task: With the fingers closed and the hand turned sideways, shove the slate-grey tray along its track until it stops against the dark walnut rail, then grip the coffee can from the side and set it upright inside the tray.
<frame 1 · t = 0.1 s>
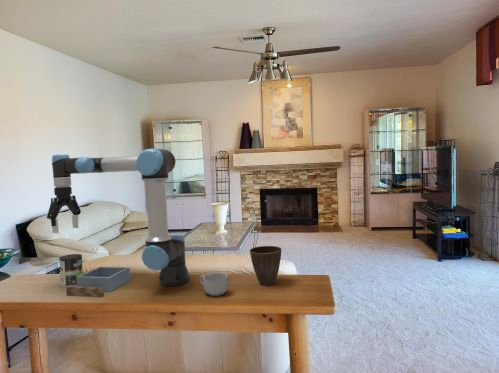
hand: (66, 230, 179), 28 cm above the table, tool pointing down, fingers open, 13 cm apart
teacup: (213, 293, 163), on the table
tray: (104, 278, 180), point 4 cm above the table, slide at 0.0 cm
coffee can: (72, 284, 185), on the table
plant pot: (266, 283, 174), on the table
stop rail: (85, 296, 166), on the table
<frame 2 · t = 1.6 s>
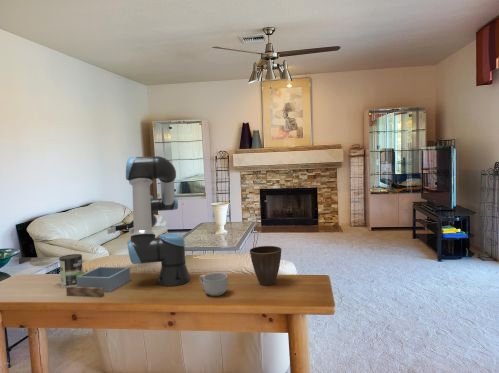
hand: (118, 231, 193), 24 cm above the table, tool horizontal, fingers open, 12 cm apart
nothing on the table moved.
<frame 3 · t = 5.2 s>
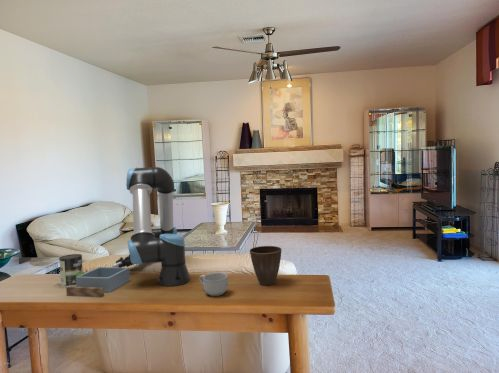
hand: (113, 268, 188), 6 cm above the table, tool horizontal, fingers closed
tray: (103, 278, 180), point 4 cm above the table, slide at 0.4 cm, touching gripper
everything else where it was.
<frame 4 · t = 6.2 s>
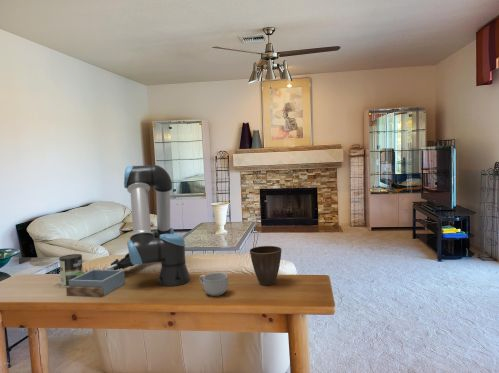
hand: (108, 270, 184), 6 cm above the table, tool horizontal, fingers closed
tray: (98, 281, 175), point 4 cm above the table, slide at 5.0 cm, touching gripper, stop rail
everything else where it was.
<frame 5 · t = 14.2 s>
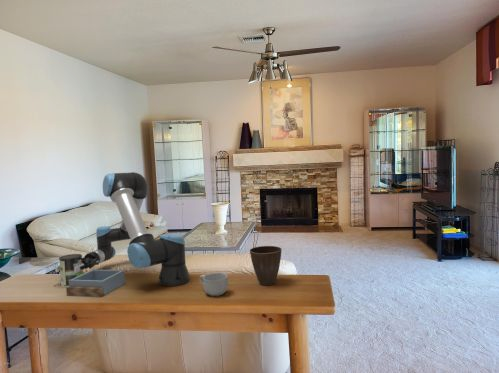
hand: (65, 269, 181), 8 cm above the table, tool horizontal, fingers closed on coffee can, 10 cm apart
tray: (98, 281, 175), point 4 cm above the table, slide at 5.0 cm
coffee can: (72, 284, 186), on the table, touching gripper
everything else where it was.
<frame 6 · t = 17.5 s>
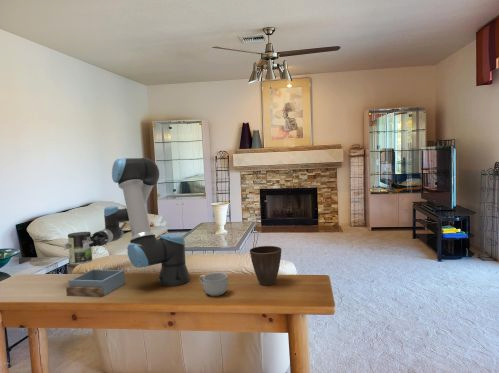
hand: (74, 246, 177), 20 cm above the table, tool horizontal, fingers closed on coffee can, 10 cm apart
coffee can: (81, 262, 182), point 12 cm above the table, touching gripper
everything else where it was.
when the fingers open (12 cm above the table, at t = 20.8 s): coffee can drops 3 cm, resting on tray.
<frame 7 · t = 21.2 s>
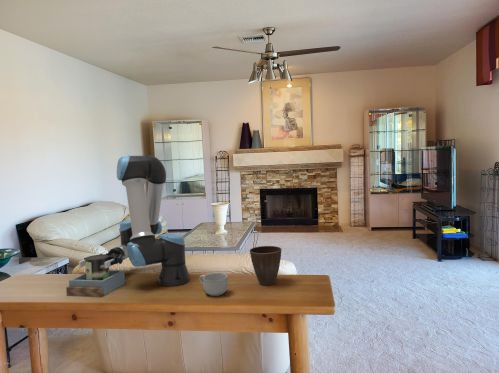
hand: (92, 265, 171), 12 cm above the table, tool horizontal, fingers open, 13 cm apart
tray: (98, 281, 175), point 4 cm above the table, slide at 5.0 cm, touching coffee can
coffee can: (98, 286, 175), point 1 cm above the table, touching tray
everything else where it was.
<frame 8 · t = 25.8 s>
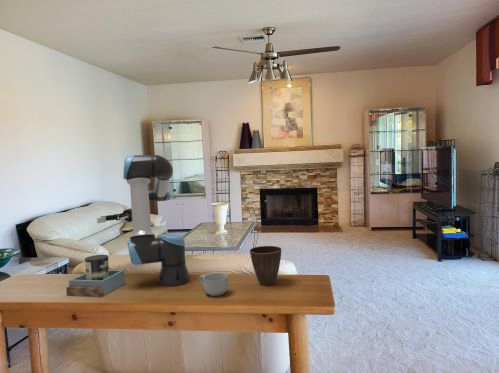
hand: (109, 220, 192), 30 cm above the table, tool horizontal, fingers open, 13 cm apart
nothing on the table moved.
at the end: tray slide at 5.0 cm; coffee can 0.1 cm off-centre on the tray, point 0.8 cm above the tray's base; coffee can tilted 0° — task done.
